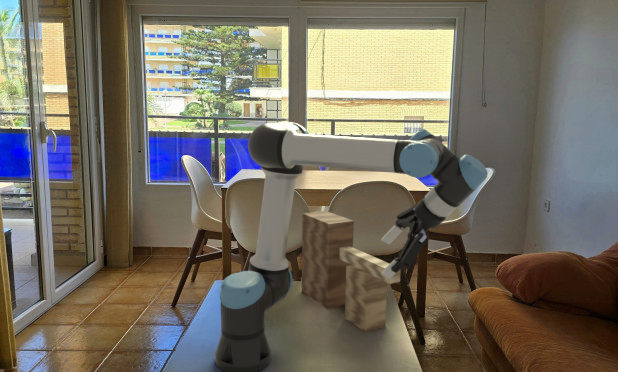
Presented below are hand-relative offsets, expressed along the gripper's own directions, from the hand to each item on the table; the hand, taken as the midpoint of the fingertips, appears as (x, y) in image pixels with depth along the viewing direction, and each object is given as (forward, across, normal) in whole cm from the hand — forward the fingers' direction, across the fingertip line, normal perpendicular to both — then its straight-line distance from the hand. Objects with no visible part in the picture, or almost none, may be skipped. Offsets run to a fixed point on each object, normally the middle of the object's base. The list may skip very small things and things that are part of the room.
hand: (385, 258), depth 130 cm
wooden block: (+16, +12, -5) cm, 21 cm away
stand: (+45, +22, -6) cm, 50 cm away
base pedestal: (+30, +5, -14) cm, 34 cm away
